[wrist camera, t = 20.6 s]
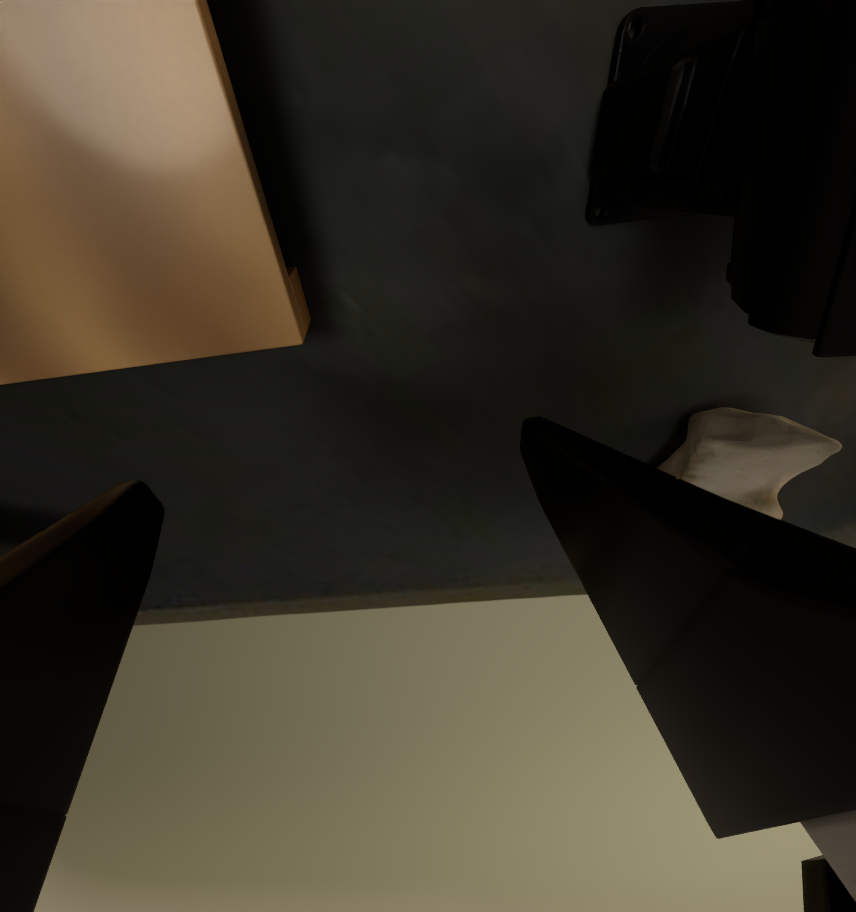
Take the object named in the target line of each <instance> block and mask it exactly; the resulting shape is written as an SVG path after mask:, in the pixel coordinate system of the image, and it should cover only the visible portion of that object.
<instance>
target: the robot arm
mask: <svg viewBox="0 0 856 912" xmlns="http://www.w3.org/2000/svg"><path fill="white" fill-rule="evenodd" d="M632 22H633V23H634V24H635V26H636V33H635V36H634V38H633V39H631V38H630V36H629V29H630V26H631V23H632ZM591 171H592V173H593V175H592V181H591V187H590V193H589V199H588V205H587V211H586V218H587V221H588V222H589V223H592V224H598V225H599V224H608V223H617V222H625V221H634V220H643V219H652V218H660V217H669V216H678V215H686V214H695V213H700V214H710V215H720V216H730V217H735V219H734V230H733V241H732V252H731V262H730V263H729V264H728V265H727V271H726V280H727V281H728V282H729V283H730V284H731V299H732V300H733V301H734V302H735V303H736V304H737V305H738V306H739V307H740V308H741V309H742V310H743V311H744V312H746V313H747V314H749V317H748V324H750V325H751V326H753V327H756V328H758V329H761V330H764V331H766V332H769V333H772V334H775V335H778V336H783V337H789V338H794V339H800V340H805V341H811V342H815V344H814V348H813V352H812V353H813V355H814V356H817V357H840V356H856V0H742V1H733V2H717V3H702V4H687V5H671V6H656V7H640V8H637V9H635V10H633V11H631V12H630V13H628V14H627V15H626V16H625V17H624V18H623V19H622V21H621V23H620V24H619V27H618V30H617V34H616V40H615V46H614V52H613V58H612V63H611V69H610V75H609V81H608V87H607V88H606V89H605V91H604V93H603V97H602V103H601V109H600V115H599V121H598V128H597V134H596V140H595V146H594V152H593V158H592V164H591ZM599 206H601V213H600V215H599V216H598V217H596V210H597V208H598V207H599ZM520 451H521V455H522V458H523V460H524V463H525V466H526V468H527V471H528V473H529V476H530V479H531V481H532V484H533V487H534V489H535V492H536V495H537V497H538V500H539V502H540V504H541V506H542V508H543V510H544V512H545V514H546V516H547V518H548V520H549V522H550V524H551V526H552V528H553V530H554V531H555V533H556V535H557V537H558V539H559V541H560V543H561V545H562V547H563V549H564V550H565V552H566V554H567V556H568V558H569V560H570V562H571V564H572V566H573V568H574V569H575V571H576V573H577V575H578V577H579V579H580V581H581V583H582V585H583V587H584V588H585V590H586V592H587V594H588V596H589V598H590V600H591V602H592V604H593V605H594V607H595V609H596V611H597V613H598V615H599V617H600V619H601V621H602V623H603V625H604V626H605V628H606V630H607V632H608V634H609V636H610V638H611V640H612V642H613V644H614V645H615V647H616V649H617V651H618V653H619V655H620V657H621V659H622V661H623V662H624V664H625V666H626V668H627V670H628V672H629V674H630V676H631V678H632V680H633V682H634V683H635V685H637V690H638V691H639V694H640V695H641V697H642V699H643V701H644V703H645V705H646V707H647V709H648V711H649V713H650V714H651V716H652V718H653V720H654V722H655V724H656V726H657V727H658V730H659V732H660V733H661V735H662V737H663V739H664V741H665V743H666V745H667V747H668V749H669V750H670V752H671V754H672V756H673V758H674V760H675V762H676V764H677V766H678V767H679V770H680V771H681V773H682V775H683V777H684V779H685V781H686V783H687V785H688V787H689V788H690V790H691V792H692V794H693V796H694V798H695V800H696V802H697V804H698V805H699V807H700V809H701V811H702V813H703V815H704V817H705V819H706V821H707V823H708V824H709V826H710V828H711V830H712V831H713V833H714V835H715V836H716V838H718V839H720V838H724V837H729V836H733V835H739V834H743V833H748V832H753V831H758V830H763V829H767V828H772V827H777V826H782V825H787V824H791V823H796V822H801V824H802V825H803V827H804V828H805V830H806V831H807V833H808V834H809V835H810V837H811V838H812V840H813V841H814V843H815V844H816V845H817V847H818V848H819V849H820V851H821V853H822V854H823V855H822V856H818V857H815V858H811V859H807V860H804V861H802V881H803V902H804V912H856V548H854V547H851V546H848V545H845V544H842V543H840V542H837V541H835V540H832V539H829V538H827V537H824V536H821V535H819V534H816V533H814V532H811V531H808V530H806V529H803V528H800V527H798V526H795V525H793V524H790V523H787V522H785V521H782V520H779V519H777V518H774V517H772V516H769V515H766V514H764V513H761V512H759V511H756V510H753V509H751V508H748V507H746V506H743V505H741V504H738V503H736V502H733V501H731V500H728V499H726V498H723V497H721V496H719V495H716V494H714V493H712V492H709V491H707V490H705V489H702V488H700V487H698V486H695V485H693V484H691V483H689V482H687V481H684V480H682V479H677V478H676V477H675V476H673V475H671V474H669V473H666V472H664V471H662V470H660V469H657V468H655V467H653V466H651V465H648V464H646V463H644V462H642V461H639V460H637V459H635V458H633V457H631V456H628V455H626V454H624V453H622V452H619V451H617V450H615V449H613V448H610V447H608V446H606V445H604V444H601V443H599V442H597V441H595V440H592V439H590V438H588V437H586V436H584V435H581V434H579V433H577V432H575V431H572V430H570V429H568V428H566V427H563V426H561V425H559V424H557V423H554V422H552V421H550V420H548V419H545V418H543V417H540V416H538V417H532V418H526V419H525V420H524V421H523V424H522V433H521V442H520ZM163 519H164V507H163V505H162V503H161V502H160V501H159V500H158V498H157V497H156V496H155V495H154V493H153V492H152V491H151V490H150V488H149V487H148V486H147V485H146V484H145V483H144V482H142V481H131V482H124V483H120V484H117V485H116V486H114V487H112V488H111V489H109V490H108V491H106V492H104V493H103V494H101V495H99V496H98V497H96V498H95V499H93V500H91V501H90V502H88V503H87V504H85V505H83V506H82V507H80V508H78V509H77V510H75V511H74V512H72V513H70V514H69V515H67V516H66V517H64V518H62V519H61V520H59V521H57V522H56V523H54V524H53V525H51V526H49V527H48V528H46V529H44V530H43V531H41V532H40V533H38V534H36V535H35V536H33V537H32V538H30V539H28V540H27V541H25V542H23V543H22V544H20V545H19V546H17V547H15V548H14V549H12V550H11V551H9V552H7V553H6V554H4V555H2V556H1V557H0V912H34V909H35V906H36V903H37V900H38V898H39V895H40V892H41V889H42V886H43V883H44V880H45V878H46V875H47V872H48V869H49V866H50V863H51V860H52V857H53V854H54V852H55V849H56V846H57V843H58V840H59V837H60V834H61V831H62V829H63V826H64V823H65V820H66V816H65V815H66V814H67V813H68V810H69V808H70V805H71V802H72V799H73V796H74V793H75V790H76V788H77V785H78V782H79V779H80V776H81V773H82V770H83V767H84V764H85V762H86V759H87V756H88V753H89V750H90V747H91V745H92V742H93V739H94V736H95V732H96V730H97V727H98V725H99V722H100V719H101V716H102V713H103V710H104V707H105V705H106V702H107V699H108V696H109V693H110V690H111V687H112V684H113V682H114V679H115V676H116V673H117V670H118V667H119V664H120V661H121V658H122V656H123V653H124V650H125V647H126V644H127V641H128V638H129V636H130V632H131V630H132V627H133V624H134V621H135V619H136V616H137V613H138V610H139V607H140V604H141V601H142V599H143V596H144V593H145V590H146V587H147V584H148V581H149V578H150V575H151V571H152V567H153V563H154V559H155V555H156V550H157V546H158V541H159V537H160V532H161V528H162V523H163Z"/></svg>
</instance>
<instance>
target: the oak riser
mask: <svg viewBox="0 0 856 912" xmlns="http://www.w3.org/2000/svg"><path fill="white" fill-rule="evenodd" d="M310 320H311V318H310V314H309V310H308V307H307V303H306V300H305V296H304V293H303V289H302V285H301V282H300V278H299V275H298V271H297V268H296V267H287V268H286V266H285V263H284V260H283V256H282V253H281V250H280V246H279V243H278V240H277V236H276V233H275V229H274V226H273V223H272V219H271V216H270V213H269V209H268V206H267V203H266V199H265V196H264V192H263V189H262V186H261V182H260V179H259V176H258V172H257V169H256V166H255V162H254V159H253V155H252V152H251V149H250V145H249V142H248V139H247V135H246V132H245V129H244V125H243V122H242V118H241V115H240V112H239V108H238V105H237V102H236V98H235V95H234V92H233V88H232V85H231V81H230V78H229V75H228V71H227V68H226V65H225V61H224V58H223V55H222V51H221V48H220V44H219V41H218V38H217V34H216V31H215V28H214V24H213V21H212V18H211V14H210V11H209V7H208V4H207V1H206V0H0V385H3V384H10V383H18V382H25V381H33V380H40V379H47V378H55V377H62V376H70V375H77V374H85V373H92V372H100V371H107V370H115V369H122V368H129V367H137V366H144V365H152V364H159V363H167V362H174V361H182V360H189V359H197V358H204V357H212V356H219V355H226V354H234V353H241V352H249V351H256V350H264V349H271V348H279V347H286V346H294V345H301V344H303V341H304V338H305V335H306V333H307V330H308V326H309V323H310Z"/></svg>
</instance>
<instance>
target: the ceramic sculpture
mask: <svg viewBox="0 0 856 912" xmlns="http://www.w3.org/2000/svg"><path fill="white" fill-rule="evenodd" d="M841 448H842V445H841V444H840V443H839V442H838V441H837V440H835V439H832V438H830V437H827V436H825V435H823V434H821V433H819V432H817V431H815V430H812V429H810V428H808V427H805V426H803V425H800V424H798V423H796V422H794V421H791V420H789V419H787V418H785V417H783V416H774V415H770V414H758V413H751V412H747V411H743V410H739V409H735V408H728V407H722V408H715V409H711V410H708V411H701V412H698V413H695V414H693V415H692V416H691V417H690V419H689V422H688V432H687V438H686V441H685V442H684V443H683V444H682V445H681V446H680V447H679V448H678V449H677V450H676V451H675V452H674V453H673V454H672V455H671V456H670V457H669V458H668V459H667V460H665V461H664V462H663V463H662V464H661V465H659V466H658V467H657V469H660V470H662V471H664V472H666V473H669V474H671V475H673V476H675V477H676V478H677V479H682V480H684V481H687V482H689V483H691V484H693V485H695V486H698V487H700V488H702V489H705V490H707V491H709V492H712V493H714V494H716V495H719V496H721V497H723V498H726V499H728V500H731V501H733V502H736V503H738V504H741V505H743V506H746V507H748V508H751V509H753V510H756V511H759V512H761V513H764V514H766V515H769V516H772V517H774V518H777V519H779V520H781V518H782V515H783V512H782V510H781V507H780V505H779V503H778V500H777V494H778V492H779V490H780V489H781V487H782V486H783V485H784V484H785V483H786V482H788V481H789V480H790V479H792V478H793V477H795V476H796V475H798V474H799V473H801V472H803V471H806V470H808V469H810V468H813V467H815V466H817V465H819V464H821V463H822V462H823V461H824V460H825V459H827V458H828V457H829V456H830V455H833V454H835V453H837V452H839V451H840V450H841Z"/></svg>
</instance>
